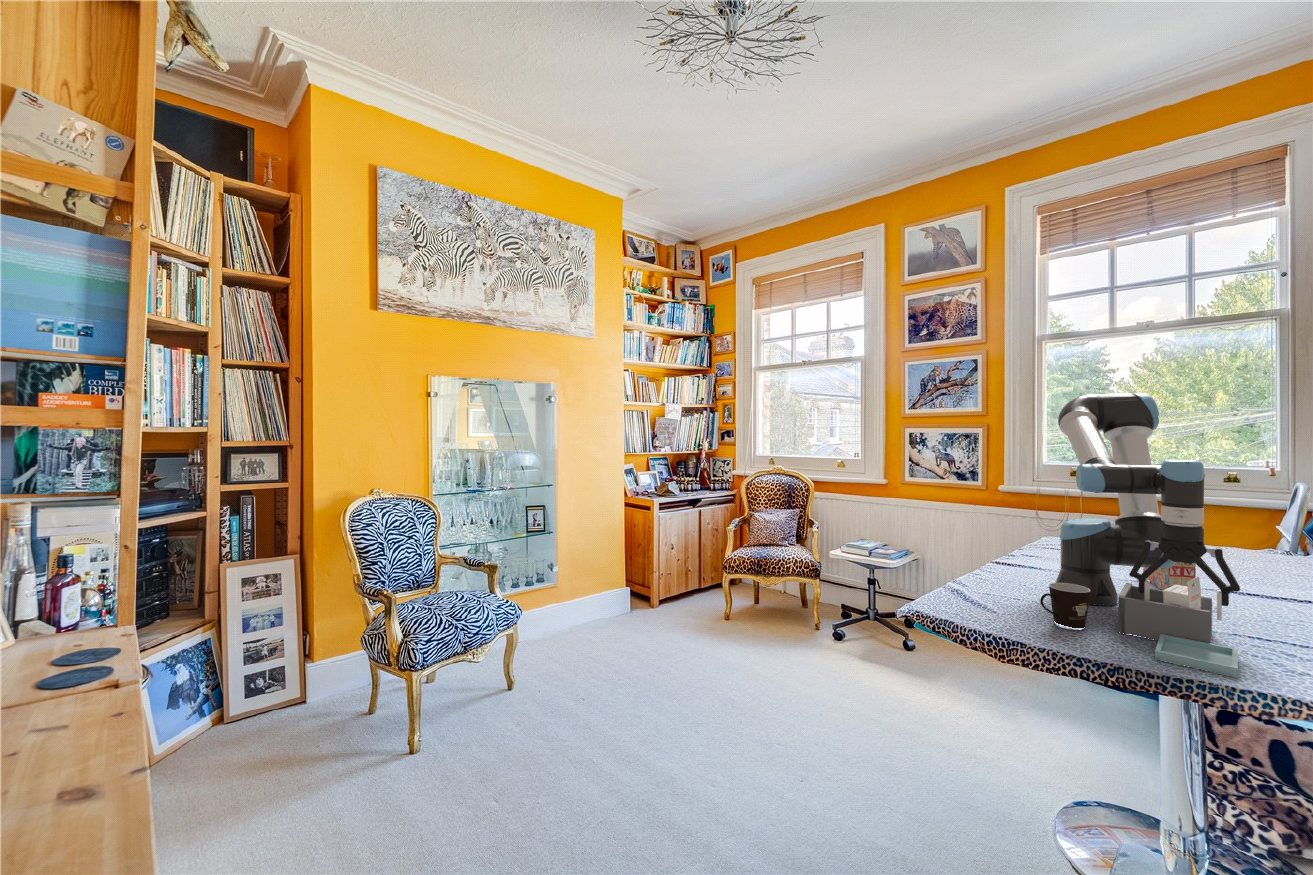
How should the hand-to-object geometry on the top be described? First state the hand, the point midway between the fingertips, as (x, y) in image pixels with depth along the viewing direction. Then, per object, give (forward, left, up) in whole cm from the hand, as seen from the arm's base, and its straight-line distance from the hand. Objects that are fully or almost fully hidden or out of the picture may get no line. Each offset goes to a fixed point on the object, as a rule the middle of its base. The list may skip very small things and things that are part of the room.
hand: (1182, 612), depth 135 cm
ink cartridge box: (0, 0, -6) cm, 6 cm away
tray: (+3, -14, -6) cm, 16 cm away
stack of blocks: (-6, +51, -6) cm, 52 cm away
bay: (-3, 0, -6) cm, 7 cm away
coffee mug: (-22, -10, -6) cm, 25 cm away
